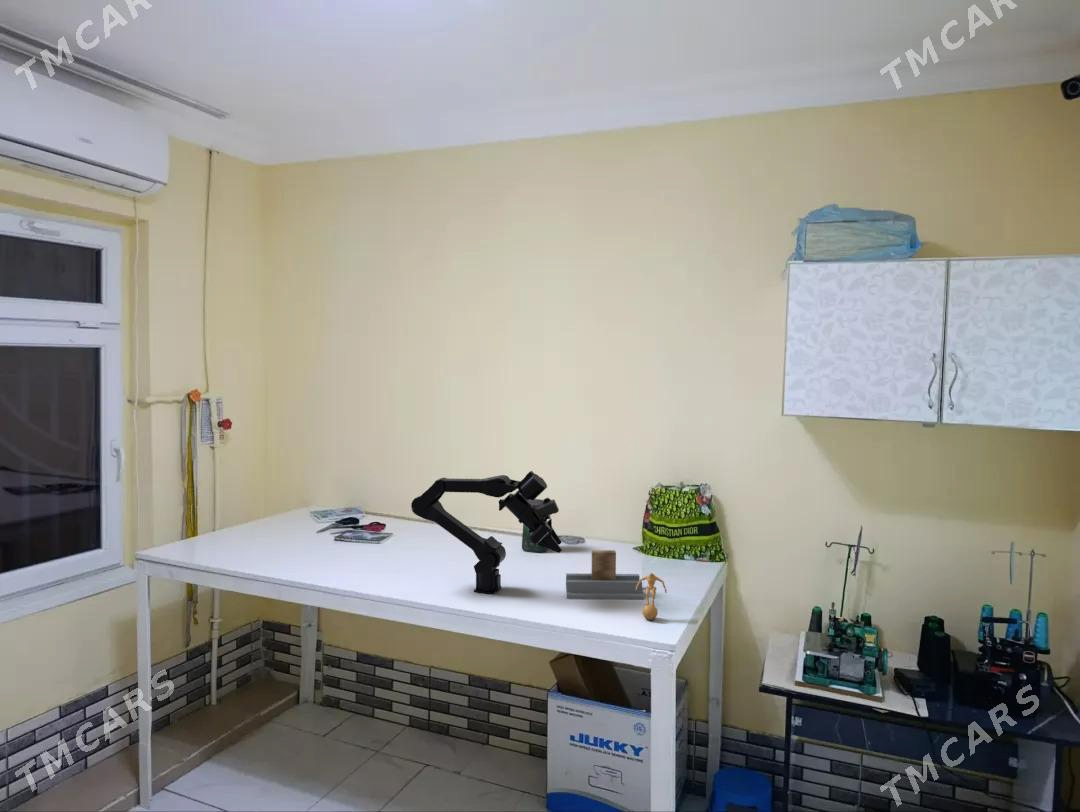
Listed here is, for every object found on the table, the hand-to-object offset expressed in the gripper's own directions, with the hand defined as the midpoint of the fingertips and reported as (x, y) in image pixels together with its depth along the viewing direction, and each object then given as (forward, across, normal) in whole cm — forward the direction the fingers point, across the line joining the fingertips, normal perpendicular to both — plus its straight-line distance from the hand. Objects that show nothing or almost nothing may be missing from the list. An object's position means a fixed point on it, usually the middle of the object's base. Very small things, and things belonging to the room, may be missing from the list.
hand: (560, 547), depth 212 cm
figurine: (+27, -20, -7) cm, 34 cm away
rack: (+19, +2, +1) cm, 19 cm away
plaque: (+18, +2, 0) cm, 18 cm away
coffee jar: (+4, +48, +16) cm, 51 cm away
